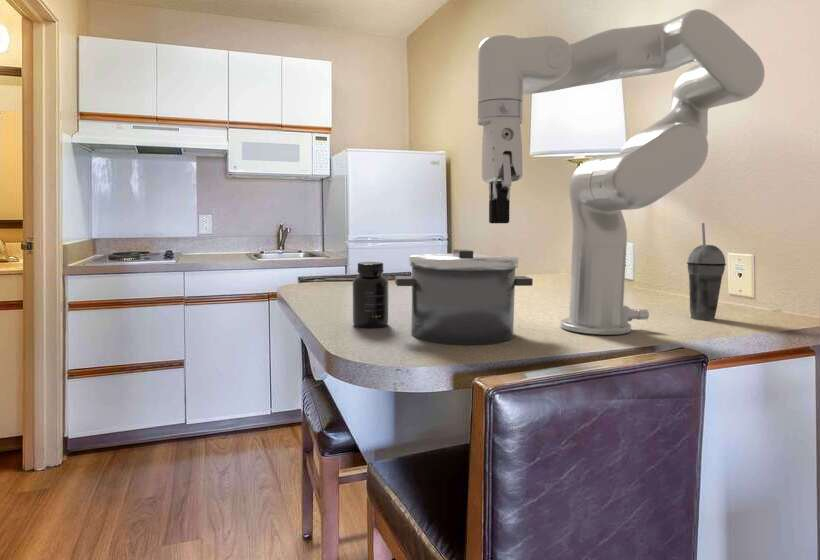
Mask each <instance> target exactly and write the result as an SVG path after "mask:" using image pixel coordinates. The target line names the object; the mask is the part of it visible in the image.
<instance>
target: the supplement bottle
mask: <svg viewBox="0 0 820 560" xmlns="http://www.w3.org/2000/svg"><path fill="white" fill-rule="evenodd" d="M357 273H358V275H357V276H356V277H355V278H354V279H353V281H352V325H354V326H355V327H358V328H362V329H378V328H379V329H380V328H384V327H387V325H388V323H389V280H388V279H387V278H386V277H385V276H383V273H384V263H383V262H382V261H381V262H380V261H379V262H378V261H361V262H358V263H357Z"/></svg>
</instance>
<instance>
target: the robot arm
mask: <svg viewBox="0 0 820 560" xmlns="http://www.w3.org/2000/svg"><path fill="white" fill-rule="evenodd" d="M477 52H478V53H477V63H478V64H477V125H478V126H480V127H481V126H482V129H483V130H482V136H481V137H482V138H481V139H482V140H481V141H482V143H481V145H482V146H481V179H482V181H483V182H485V183H486V184H487V183H488V198H489V200H488V222H489V224H509V223H510V204H511V203H510V197H511V187H512V183H514V182H517V181H520V180H521V179H522V177H523V144H522V143H523V142H522V141H523V139H522V129H521V124H523V106H524V105H523V103H524V101H523V99H524V96H523V95H533V94H534V95H535V94H540V93H548V92H554V91H559V90H564V89H569V88H570V89H571V88H576V87H581V86H587V85H595V84H599V83H605V82H609V81H614V80H615V81H616V80H621V79H627V78H628V79H629V78H635V77H640V76H648V75H654V74H656V75H657V74H662V73H667V72H670V71H674V70H677V69H679V68H682V67H685V66H689V65H691V64H693V63H696V62H697V63H699V64H695V65H694V66H692V67H690V68H688V69H686V70H685V71H684V72H683V73H682V74H681V75H679V77H678V78H677V80H676V81H675V84H674V85H673V88H672V94H671V105H670V106H671V107H670V111H669V113H668V114H666V115H665V116H664V117H662V118H661V119H660V120H658V121H657V122H654V123H653V124H651V125H650V126H648V127H646V128H645V129H643V130H640V131H639V132H638V133H636V134H635V135H633V136H631V137H630V138H629V139H628V140H627V141H626V142H625V143H624V144H623V145H622V147H621V149H620V151H619V153H618V154H615V155H607V156H602V157H596V158H593V159H589V160H587V161H585V162H583V163H582V164H580V165H579V166H577V168H575V170H574V172H573V173H572V176H571V177H570V178H571V179H570V181H569V190H568V191H569V199H570V200H569V201H570V206H571V212H572V213H571V215H572V241H571V242H572V245H571V264H570V265H571V266H570V267H571V269H570V290H569V291H570V292H569V293H570V294H569V315H568V316H569V317H565V318H563V319H561V320H560V328H562V329H565V330H567V331H571V332H575V333H580V334H581V333H582V334H589V335H599V336H600V335H603V336H605V335H606V336H607V335H608V336H612V335H613V336H614V335H625V334H628V333H630V332H631V331H632V325H631V323H629V322H632V321H633V320H641V321H642V320H646V321H647V320H648V319H649V318H650V317H649V315H650V313H649V311H648V309H644V308H643V309H642V308H641V309H634V308H631V307H629V306H627V305H624V304H625V303H624V298H625V280H626V262H627V261H626V260H627V247H628V245H627V244H628V231H627V227H626V222H625V219H624V216H623V212H622V211H624V210H625V211H627V210H628V211H631V210H633V211H634V210H639V209H643V208H646V207H648V206H651V205H652V204H653V203H655V202H657V201H659V200H660V199H661V198H663V197H665V196H667V195H668V194H669V193H671V192H672V191H674V190H675V189H677V188H678V187H680V186H681V185H683V184H684V183H686V182H688V181H689V180H690V179H692V178H693V177H694V176H696V175H697V174H698V173H699V172H700V170H701V169H702V167H703V166H704V165H705V162H706V160H707V157H708V153H709V142H708V141H709V140H708V139H707V137H708V133H709V131H708V130H709V129H708V127H709V126H708V121H709V120H708V119H709V118H708V117H709V116H708V112H709V109H711V108H715V107H719V106H724V105H728V104H732V103H737V102H741V101H743V100H746V99H749V98H750V97H752V96H754V95H755V94H756V93H757V92H758V91H759V90H760V88H762V85H763V83H764V80H765V67H764V63H763V61H762V59H761V58H760V55H759V54H758V53H757V52H756V51H755V50H754V49H753V48H752V47H751V45H749V44H748V42H746V41H745V40H744V39H742V37H741V36H740V35H739V34H737V33H736V31H735V30H734V29H732V28H731V27H730V26H729V25H728V23H726V22H724V21H723V20H722V19H721V18H719V16H716V15H715V14H714V13H712V12H709V11H707V10H705V9H698V8H697V9H691V10H689V11H686V12H685V13H683V14H680V15H678V16H676V17H673V18H672V19H670V20H667V21H664V22H660V23H655V24H645V25H637V26H629V27H621V28H611V29H608V30H607V29H606V30H604V31H601V32H598V33H596V34H592V35H591V36H589V37H586V38H584V39H581V40H579V41H576V42H573V43H571V44H570V43H569V42H567V41H566V40H565V39H563V38H562V37H560V36H559V37H558V36H556V35H555V36H554V35H541V36H529V37H517V36H514V35H508V34H497V35H493V36H488V37H486V38H484V39H483V40H482V41H480V43H479V46H478V50H477Z"/></svg>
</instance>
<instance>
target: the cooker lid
mask: <svg viewBox="0 0 820 560" xmlns="http://www.w3.org/2000/svg"><path fill="white" fill-rule="evenodd" d="M452 251H453V253H426V254H425V253H421V254H411V255H410V256H408V257H409V258H408V261H409V262H408V264H409V265H408V266H409V267H411V268H412V267H417V268H425V269H437V270H463V271H487V270H507V269H515V270H516V269H518V268H519V257H517V256H511V255H502V254H501V255H497V254H487V253H486V254H485V253H484V254H483V253H474V250H471V249H463V248H462V249H461V248H458V249H456V248H455V249H453V250H452Z"/></svg>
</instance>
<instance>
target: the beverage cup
mask: <svg viewBox="0 0 820 560" xmlns="http://www.w3.org/2000/svg"><path fill="white" fill-rule="evenodd" d="M701 232H702V233H701V234H702V235H701V236H702V244H700V245H698V246H696V247H695V248H694V249H692V250H691V252H690V253H689V256H688V260H687V263H686V264H687V273H688V280H689V281H688V283H689V284H688V285H689V287H688V288H689V311H690V312H689V313H690V318H691V319H693V320H696V321H697V320H698V321H714V320H715V319H716V318H715V317H716V313H717V309H718V303H719V297H720V291H721V286H722V285H721V284H722V279H723V276H724V274H725V273H724V272H725V269H726V266H727V265H726V264H727V263H726V257H725V255H724V253H723V251H722V250H721V249H720V248H719V247H717V246H716V245H713V244H706V227H705V222H701Z"/></svg>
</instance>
